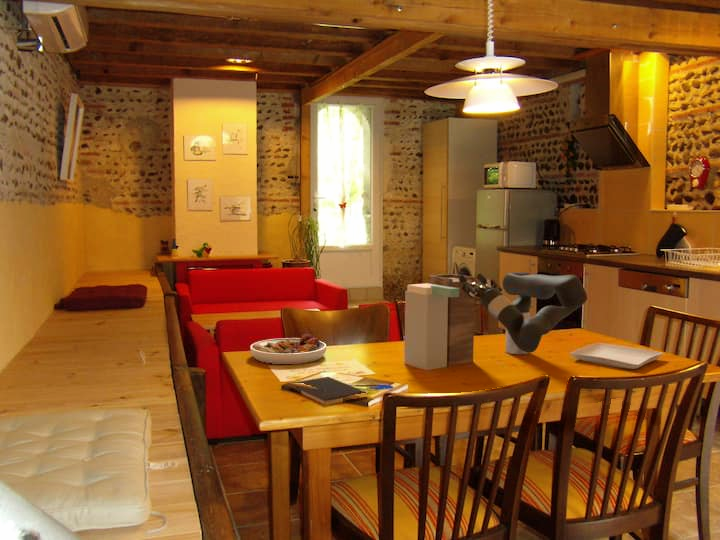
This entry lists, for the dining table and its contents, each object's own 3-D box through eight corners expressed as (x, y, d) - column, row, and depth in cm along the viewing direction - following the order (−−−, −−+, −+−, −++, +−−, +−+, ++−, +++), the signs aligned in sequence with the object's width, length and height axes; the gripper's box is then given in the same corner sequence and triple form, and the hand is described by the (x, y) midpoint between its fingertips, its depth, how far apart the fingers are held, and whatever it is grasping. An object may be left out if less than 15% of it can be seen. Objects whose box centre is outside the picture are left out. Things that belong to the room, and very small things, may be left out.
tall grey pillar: (446, 366, 257) (448, 293, 254) (426, 370, 251) (427, 295, 248) (424, 360, 267) (425, 289, 264) (404, 363, 261) (405, 291, 259)
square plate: (568, 361, 268) (568, 351, 267) (597, 350, 288) (598, 341, 287) (637, 373, 249) (637, 363, 249) (664, 361, 269) (664, 351, 269)
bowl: (295, 370, 250) (295, 349, 249) (234, 360, 266) (234, 340, 265) (340, 355, 276) (340, 336, 275) (282, 346, 291) (282, 328, 291)
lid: (465, 295, 246) (465, 287, 246) (444, 298, 241) (444, 289, 240) (427, 289, 263) (427, 281, 263) (407, 291, 258) (407, 283, 257)
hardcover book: (324, 407, 207) (324, 400, 207) (288, 390, 226) (288, 383, 226) (367, 398, 216) (367, 391, 216) (329, 382, 235) (329, 376, 235)
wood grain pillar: (473, 362, 264) (475, 277, 261) (449, 366, 257) (450, 279, 254) (450, 355, 275) (452, 274, 272) (426, 359, 268) (428, 275, 265)
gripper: (517, 294, 230) (488, 266, 240) (486, 297, 222) (458, 268, 232) (508, 311, 233) (480, 283, 244) (478, 315, 225) (450, 286, 236)
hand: (469, 276), depth 238 cm, fingers open, 8 cm apart
